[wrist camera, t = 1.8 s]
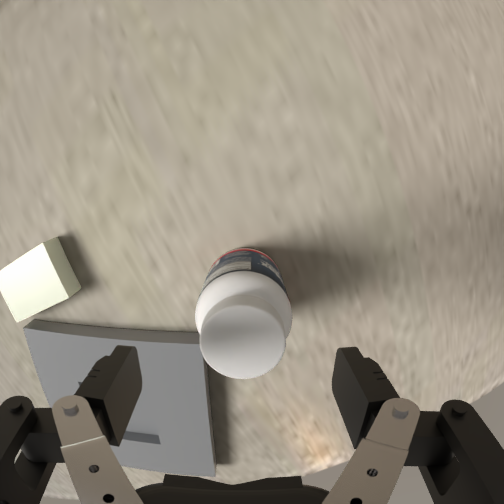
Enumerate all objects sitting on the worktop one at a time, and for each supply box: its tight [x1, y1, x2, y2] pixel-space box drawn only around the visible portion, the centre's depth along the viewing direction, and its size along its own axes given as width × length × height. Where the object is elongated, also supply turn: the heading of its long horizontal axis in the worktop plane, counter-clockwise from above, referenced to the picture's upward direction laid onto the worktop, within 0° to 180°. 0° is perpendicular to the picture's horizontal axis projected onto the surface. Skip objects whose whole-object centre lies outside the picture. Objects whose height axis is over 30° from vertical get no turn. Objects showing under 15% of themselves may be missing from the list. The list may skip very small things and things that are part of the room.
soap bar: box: [0, 237, 81, 323], centre depth 22 cm, size 7×4×2 cm, turn 113°
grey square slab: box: [23, 320, 217, 477], centre depth 25 cm, size 16×16×2 cm
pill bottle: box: [195, 248, 292, 379], centre depth 19 cm, size 5×5×9 cm
